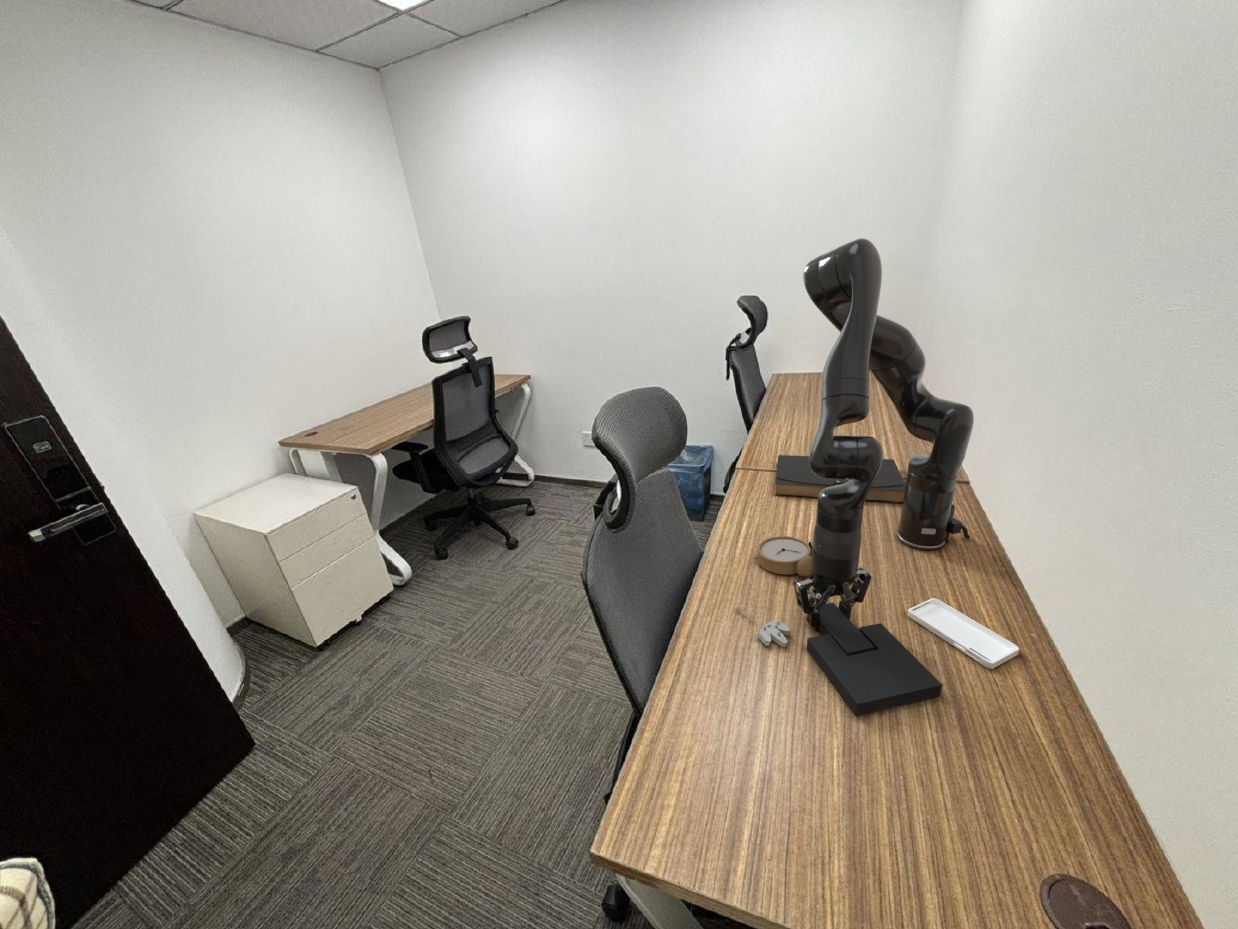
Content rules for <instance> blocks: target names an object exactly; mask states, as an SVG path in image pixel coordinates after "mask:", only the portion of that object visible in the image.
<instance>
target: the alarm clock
mask: <svg viewBox="0 0 1238 929" xmlns="http://www.w3.org/2000/svg"><path fill="white" fill-rule="evenodd" d="M812 544H813V541H808V543H807V542H806V541H805V540H802V539H801V538H799V537H794V536H791V535H790V536H789V535H776V536H775V535H774V536H771V537H767V538H766V539H763V540H762V541H761V542H760V543H758V546H757V548H756V549H757V555H756V556H753V560H758V564H759V566H760V567H761V568H762V569H764V570H766V571H767V572H770V573H773V574H777V575H785V576H786V575H795V574H797V575H798V576H800V577H809V576H810V574H811V572H812V568H811V557H812Z"/></svg>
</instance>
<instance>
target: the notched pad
mask: <svg viewBox="0 0 1238 929" xmlns="http://www.w3.org/2000/svg"><path fill="white" fill-rule="evenodd" d="M858 630H859V631H860V632H861V633H862V634H863V635H864V636H865V638H866V639H867V640H868V641H869V642H870V643H871V644H872V645H873V646H874V650H873V651H868V652H864V653H859V654H854V655H850V656H847V655H846V654H845V652H844V651H843V650H842V649H841V648H840V646H839V645H838V644H837V643H836V642H835V640H834V639H833V638H832V637H831V636H830V634H826V635H822V634H821V635H817V636H812V637H808V638H807V640H806V651H807V652H808V653H809V655H810V656H811V658H812V659H813V660H814V662H815V663H816V664H817V666H818V667H819V668H820V670H821V671H822V672H823V673H824V675H825V677H826V678H827V679H828V681H829V682H830V683H831V685H832V686H833V687H834V689H835V690H836V691H837V693H838V694H839V695H840V697H841V698H842V699H843V702H845V703H846V705H847V706H848V708H849V710H851V711H852V713H853V714H854V716H855V717H858V716H863V715H867V714H871V713H876V712H879V711H880V712H881V711H884V710H888V709H892V708H897V707H901V706H905V705H910V704H914V703H919V702H923V701H927V700H931V699H935V698H939V697H940V696H941V693H942V689H943V684H942V683H941V681H940V680H939V679H938V678H937V677H935V676H934V674H932V673H931V672H930V671H929V670H928V669H927V667H926V666H924V664H922V663H921V661H920V660H919V659H917V658H916V657H915V656H914V655H913V654H912V652H910V651H909V649H908V648H906V647H905V645H903V644H902V643H901V642H900V641H899V639H898V638H896V636H894V635H893V634H892V632H890V631H889V630H888V628H886V627H885V626H884V625H883V623H881V622H880V623H874V624H869V625H864V626H860V627H859V628H858Z"/></svg>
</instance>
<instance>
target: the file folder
mask: <svg viewBox="0 0 1238 929" xmlns="http://www.w3.org/2000/svg"><path fill="white" fill-rule="evenodd" d="M848 481H849V480H848V479H823V478H819V477H817V476H816V475H814V473H813V472H812V470H811V469H810V466H809V455H793V454H792V455H790V454H789V455H788V454H778V455H777V463H776V474H775V483H774V484H775V485H774V496H788V497H803V498H817V499H818V495H819V493H820V492H821V490H823V489H825V488H827V487H831V486H836V485H841V484H844V483H846V482H848ZM905 485H906V482H905V481H904V479H903V476H902V474H901V472H900V470H899V468H898V466H897V464H896V462H895V459H892V458H883V461H882V465H881V468H880V470H879V473H878V475H877V477H876V479H875V481H874V482H873V484H872V486H871V488H870V490H869V493H868V495H867V498H866V500H865V502H881V503H895V504H903V498H904V491H905Z"/></svg>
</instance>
